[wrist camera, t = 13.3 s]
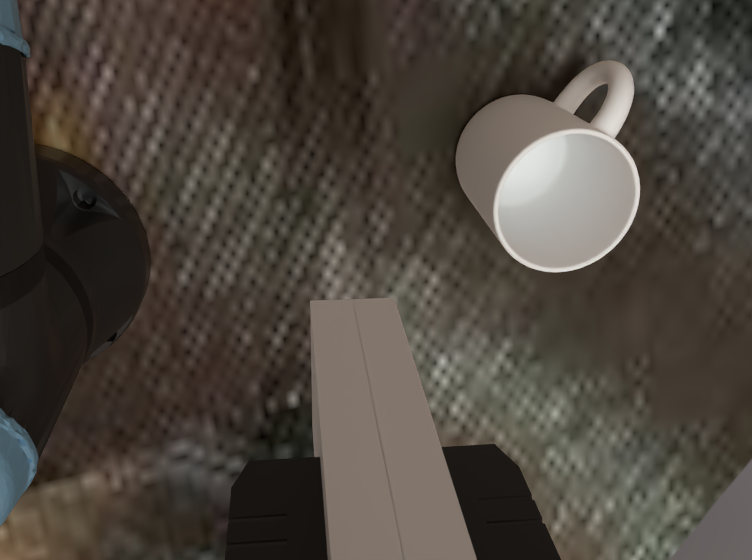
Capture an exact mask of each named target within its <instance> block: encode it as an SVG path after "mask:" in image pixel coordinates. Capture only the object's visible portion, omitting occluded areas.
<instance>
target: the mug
mask: <svg viewBox="0 0 752 560" xmlns="http://www.w3.org/2000/svg"><path fill="white" fill-rule="evenodd" d="M606 83H607V84H608V93H607V96H606V99H605V101H604V103H603V105H602V107H601V109H600V110H599V112H598V113H597V115H596V116H595V117H594V119H593V120H592V121H591V123H587V122H585V121H584V120H582V119H580V118H578V117H577V116H575V115H573V114H574V113H575V111H576V110H577V108H578V107H579V106H580V104H581V103H582V102H583V100H584V99H585V98H586V97H587V96H588V95H589V94H590V93H591V92H592V91H593V90H594V89H595V88H597V87H598V86H600V85H602V84H606ZM633 96H634V82H633V78H632V75H631V73H630V71H629V70H628V69H627V68H626V67H625V65H623V64H621V63H619V62H617V61H611V60H610V61H601V62H598V63H595V64H593V65H591V66H589V67H588V68H586V69H585V70H583V71H582V72H580V73H579V74H578V75H577V76H576V77H575V78H574V79H573V80H572V81H571V82H570V83H569V84H568V85H567V86H566V87H565V88H564V90H563V91H562V92H561V93H560V94H559V96H558V97H557V98H556V100H555V101H554V102H551V101H548V100H546V99H544V98H540V97H537V96H532V95H525V94H521V95H511V96H506V97H503V98H500V99H497V100H495V101H493V102H491V103H489V104H488V105H486V106H485V107H483V108H482V109H481V110H479V111H478V112H477V113H476V114H475V115H474V116H473V117H472V118H471V120H470V121H469V122H468V124H467V125H466V127H465V128H464V130H463V132H462V134H461V136H460V139H459V142H458V145H457V150H456V161H455V162H456V171H457V176H458V179H459V182H460V185H461V187H462V189H463V191H464V192H465V194H466V196H467V197H468V199H469V200H470V201H471V203H472V204H473V206H474V207H475V208H476V210H477V211H478V212H479V214H480V215H481V217H482V218H483V219H484V221H485V222H486V223H487V225H488V226H489V227H490V229H491V230H492V232H493V233H494V234H495V236H496V237H497V238H498V240H499V241H500V243H501V244H502V245H503V247H504V248H505V249H506V251H507V252H508V253H509V254H510V255H511V256H512V257H513V258H514V259H516V260H517V261H519V262H520V263H522V264H524V265H525V266H527V267H530V268H533V269H536V270H540V271H545V272H566V271H571V270H575V269H579V268H582V267H584V266H587V265H589V264H591V263H593V262H595V261H597V260H599V259H600V258H601V257H603V256H604V255H606V254H607V253H608V252H609V251H611V250H612V249H613V248H614V247H615V246H616V245H617V244H618V243H619V242H620V240H621V239H622V238H623V236H624V235H625V234H626V232H627V231H628V229H629V227H630V226H631V224H632V222H633V219H634V217H635V215H636V211H637V208H638V204H639V198H640V182H639V176H638V171H637V168H636V165H635V163H634V161H633V159H632V157H631V156H630V154H629V152H628V151H627V150H626V149H625V148H624V147H623V145H621V144H620V143H619V142H618V141H617V140H615V139H614V138H615V137H616V135H617V134H618V132H619V130H620V129H621V127H622V125H623V123H624V121H625V119H626V117H627V115H628V113H629V110H630V107H631V104H632V100H633Z"/></svg>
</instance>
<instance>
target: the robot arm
mask: <svg viewBox="0 0 752 560" xmlns="http://www.w3.org/2000/svg"><path fill="white" fill-rule="evenodd" d="M29 57H30V48H29V44H28V43H27V42H26V41H25V40H24V39H23V36H22V29H21V23H20V16H19V10H18V3H17V0H0V526H1V525H2V524H3V522H4V521H5V520H6V518H7V517H8V515H9V513H10V512H11V510H12V509H13V507H14V506H15V504H16V503H17V501H18V500H19V498H20V497H21V495H22V494H23V493H24V492H25V491H26V490H27V488H28V486H29V485H30V484H31V482H32V480H33V478H34V476H35V474H36V472H37V463H38V461H39V458H40V456H41V454H42V452H43V450H44V447H45V445H46V443H47V441H48V438H49V436H50V434H51V432H52V430H53V427H54V425H55V423H56V421H57V419H58V416H59V414H60V412H61V410H62V408H63V405H64V403H65V401H66V399H67V397H68V394H69V392H70V390H71V388H72V386H73V383H74V381H75V379H76V377H77V375H78V372H79V370H80V368H81V366H82V364H84V363H85V362H87V361H88V360H89V359H90V358H92V357H94V356H96V355H97V354H99V353H100V352H102V351H103V350H105V349H106V348H107V347H109V346H110V345H111V344H113V343H114V342H115V341H116V340H117V339H118V338H119V337H120V336H121V335H122V334H123V333H124V331H125V330H126V329H127V328H128V326H129V325H130V324H131V322H132V321H133V319H134V317H135V315H136V314H137V311H138V309H139V307H140V304H141V302H142V299H143V297H144V294H145V291H146V289H147V285H148V281H149V275H150V251H149V245H148V241H147V237H146V234H145V231H144V228H143V225H142V223H141V221H140V219H139V217H138V215H137V213H136V211H135V210H134V208H133V206H132V205H131V204H130V202H129V201H128V199H127V198H126V197H125V196H124V194H123V193H122V192H121V191H120V190H119V189H118V188H117V187H116V186H115V185H114V184H113V183H112V182H111V181H110V180H109V179H108V178H107V177H105V176H104V175H103V174H102V173H101V172H99V171H98V170H96V169H95V168H93V167H92V166H90V165H89V164H87V163H85V162H84V161H82V160H80V159H78V158H76V157H74V156H72V155H70V154H67V153H65V152H62V151H60V150H57V149H54V148H50V147H47V146H43V145H38V144H34V138H33V129H32V119H31V110H30V101H29V91H28V82H27V73H26V63H25V58H29ZM310 316H311V369H312V422H313V441H314V456H315V457H308V458H291V459H274V460H258V461H249V462H248V463H247V465H246V466H245V468H244V469H243V471H242V472H241V474H240V475H239V477H238V478H237V480H236V481H235V483H234V485H233V486H232V488H231V499H230V510H229V524H228V532H227V543H226V544H227V548H226V554H225V560H561V559H560V556H559V554H558V552H557V550H556V548H555V545H554V543H553V541H552V539H551V537H550V534H549V532H548V530H547V528H546V525H545V524H543V523H542V517H541V514H540V512H539V510H538V508H537V506H536V503H535V501H534V500H532V497H531V492H530V490H529V488H528V486H527V483H526V481H525V479H524V477H523V475H522V472H521V470H520V468H519V466H518V465H516V464H515V463H514V462H513V461H512V460H511V459H510V458H509V457H508V456H507V455H506V454H505V453H504V452H502V451H501V450H500V449H499V448H498V447H497V446H496V445H495V444H486V445H470V446H453V447H441V445H440V441H439V438H438V435H437V432H436V429H435V426H434V422H433V419H432V416H431V413H430V410H429V407H428V403H427V400H426V397H425V394H424V391H423V388H422V384H421V381H420V378H419V375H418V372H417V369H416V365H415V362H414V359H413V356H412V353H411V350H410V347H409V343H408V340H407V337H406V334H405V331H404V328H403V324H402V321H401V318H400V315H399V312H398V309H397V305H396V302H395V299H394V298H375V299H346V300H316V301H310Z"/></svg>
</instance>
